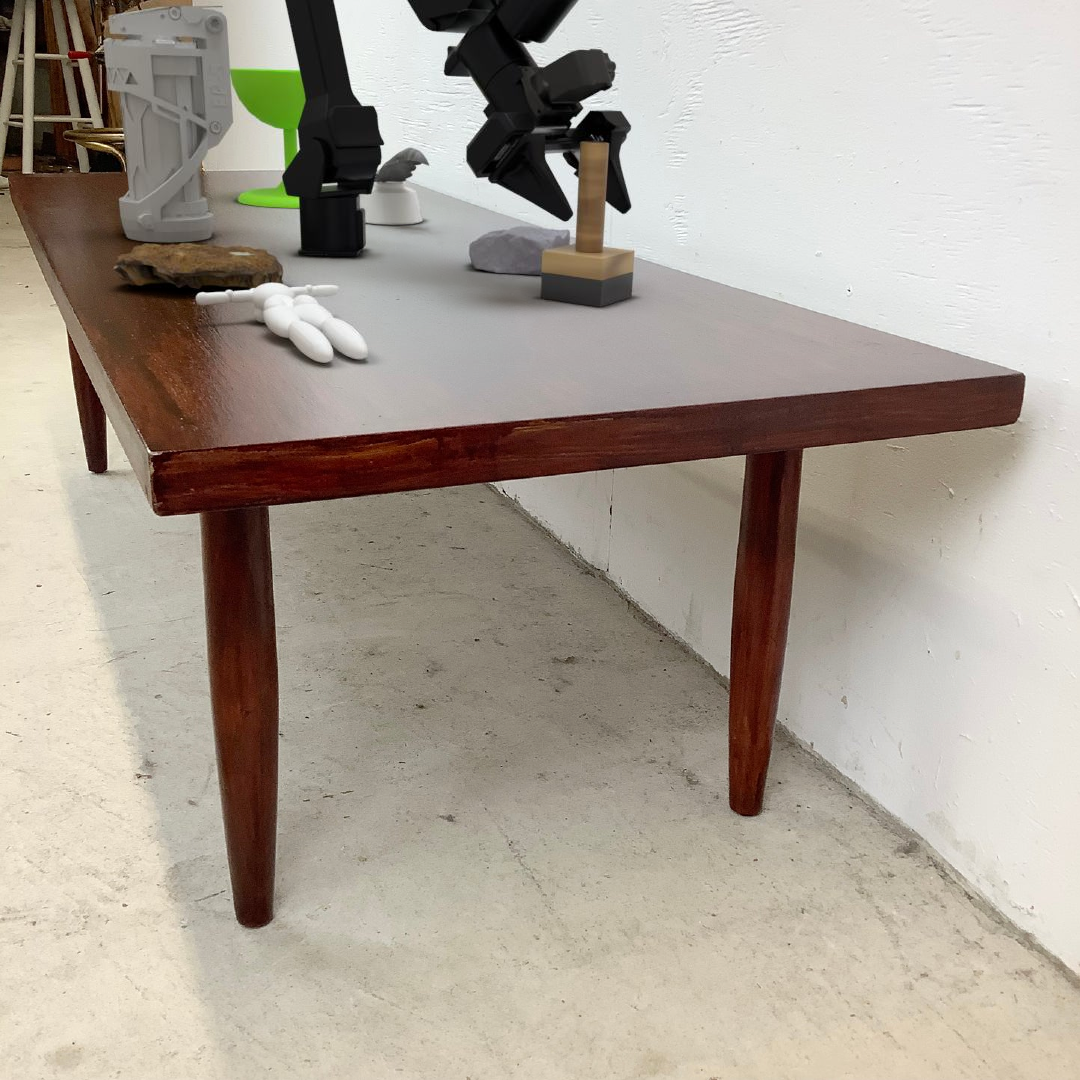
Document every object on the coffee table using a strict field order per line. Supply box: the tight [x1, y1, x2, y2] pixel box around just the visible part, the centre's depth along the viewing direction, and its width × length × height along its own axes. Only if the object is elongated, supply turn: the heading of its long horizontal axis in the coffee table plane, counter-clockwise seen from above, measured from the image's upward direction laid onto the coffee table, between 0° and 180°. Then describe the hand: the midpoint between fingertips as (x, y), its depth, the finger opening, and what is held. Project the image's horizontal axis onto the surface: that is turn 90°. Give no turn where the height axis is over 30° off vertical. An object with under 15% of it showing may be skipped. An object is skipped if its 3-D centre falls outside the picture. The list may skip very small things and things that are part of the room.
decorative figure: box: [195, 283, 369, 364], centre depth 90 cm, size 4×12×18 cm
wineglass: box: [230, 68, 306, 209], centre depth 169 cm, size 16×16×18 cm
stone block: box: [468, 225, 571, 276], centre depth 126 cm, size 12×5×10 cm
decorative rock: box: [113, 242, 284, 290], centre depth 107 cm, size 11×4×15 cm
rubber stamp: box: [540, 142, 635, 308], centre depth 107 cm, size 6×6×14 cm
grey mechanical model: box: [103, 5, 234, 243], centre depth 132 cm, size 13×10×25 cm
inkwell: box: [360, 147, 430, 226], centre depth 151 cm, size 9×18×10 cm, turn 32°
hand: (599, 214), depth 107 cm, fingers open, 9 cm apart
